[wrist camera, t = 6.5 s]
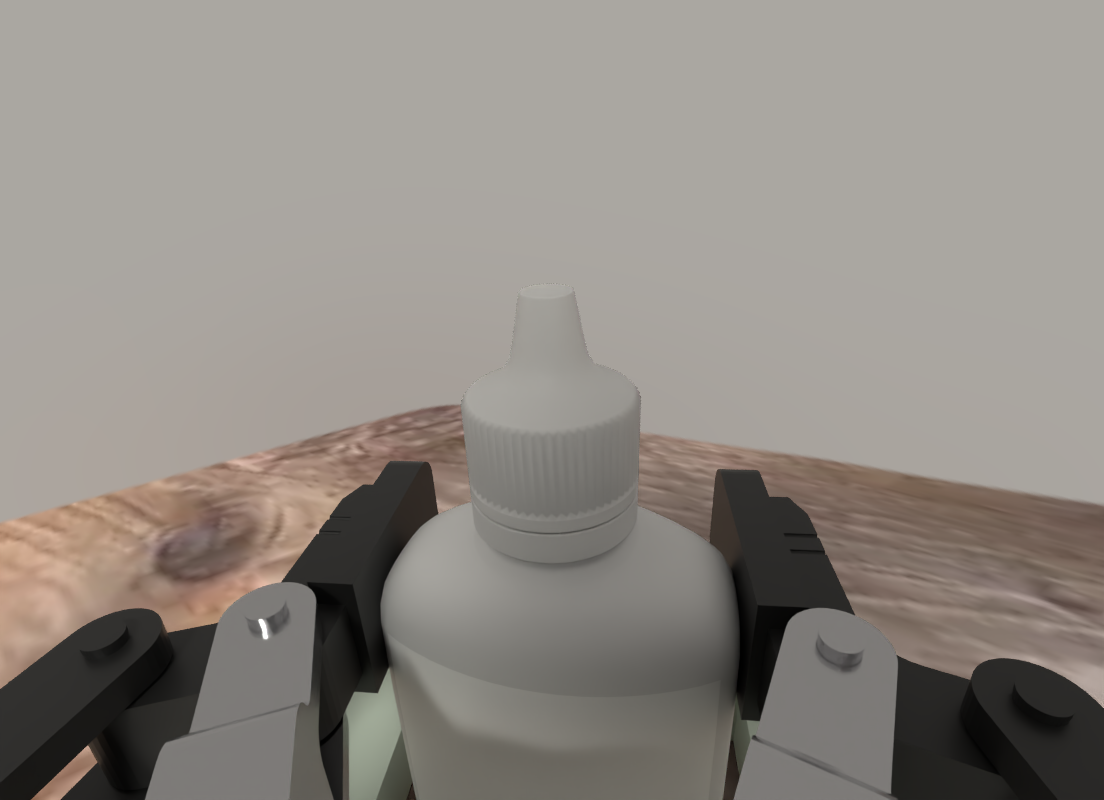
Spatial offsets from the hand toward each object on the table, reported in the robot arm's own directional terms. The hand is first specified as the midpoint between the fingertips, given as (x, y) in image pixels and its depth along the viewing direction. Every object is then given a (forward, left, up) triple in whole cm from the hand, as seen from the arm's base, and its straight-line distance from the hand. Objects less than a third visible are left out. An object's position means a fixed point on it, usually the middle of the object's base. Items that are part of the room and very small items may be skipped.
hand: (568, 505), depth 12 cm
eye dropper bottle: (0, +3, -7) cm, 8 cm away
